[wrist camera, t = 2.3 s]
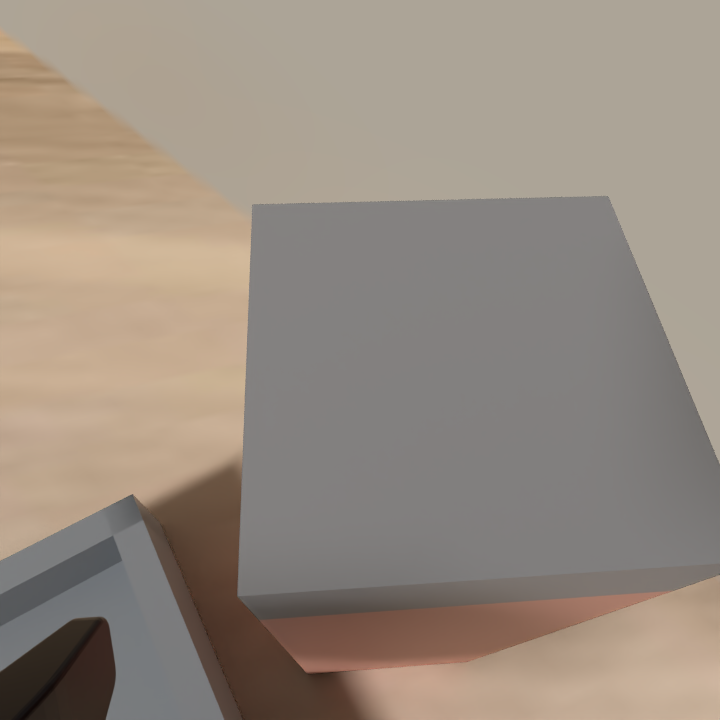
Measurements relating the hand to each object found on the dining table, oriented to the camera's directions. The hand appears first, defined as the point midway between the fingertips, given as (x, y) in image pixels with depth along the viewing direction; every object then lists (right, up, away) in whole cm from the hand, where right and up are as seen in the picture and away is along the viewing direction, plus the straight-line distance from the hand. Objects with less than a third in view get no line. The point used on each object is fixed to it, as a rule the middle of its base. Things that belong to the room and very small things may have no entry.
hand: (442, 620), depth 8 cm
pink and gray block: (0, -3, +9) cm, 10 cm away
